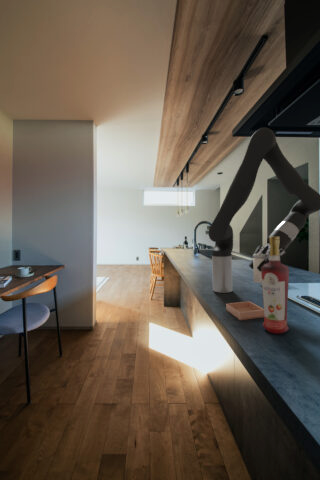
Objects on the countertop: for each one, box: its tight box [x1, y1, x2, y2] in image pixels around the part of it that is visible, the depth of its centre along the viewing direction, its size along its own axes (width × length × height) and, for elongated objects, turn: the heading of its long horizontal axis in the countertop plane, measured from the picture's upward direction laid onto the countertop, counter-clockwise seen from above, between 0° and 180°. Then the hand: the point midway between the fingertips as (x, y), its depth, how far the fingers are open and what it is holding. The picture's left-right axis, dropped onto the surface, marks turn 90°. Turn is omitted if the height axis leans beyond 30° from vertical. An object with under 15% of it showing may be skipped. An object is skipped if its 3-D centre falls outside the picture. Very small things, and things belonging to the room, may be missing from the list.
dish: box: [225, 300, 264, 321], centre depth 81 cm, size 10×10×2 cm
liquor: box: [261, 236, 290, 335], centre depth 66 cm, size 7×7×28 cm
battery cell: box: [252, 253, 266, 284], centre depth 86 cm, size 4×4×11 cm
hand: (255, 268), depth 85 cm, fingers closed on battery cell, 4 cm apart
